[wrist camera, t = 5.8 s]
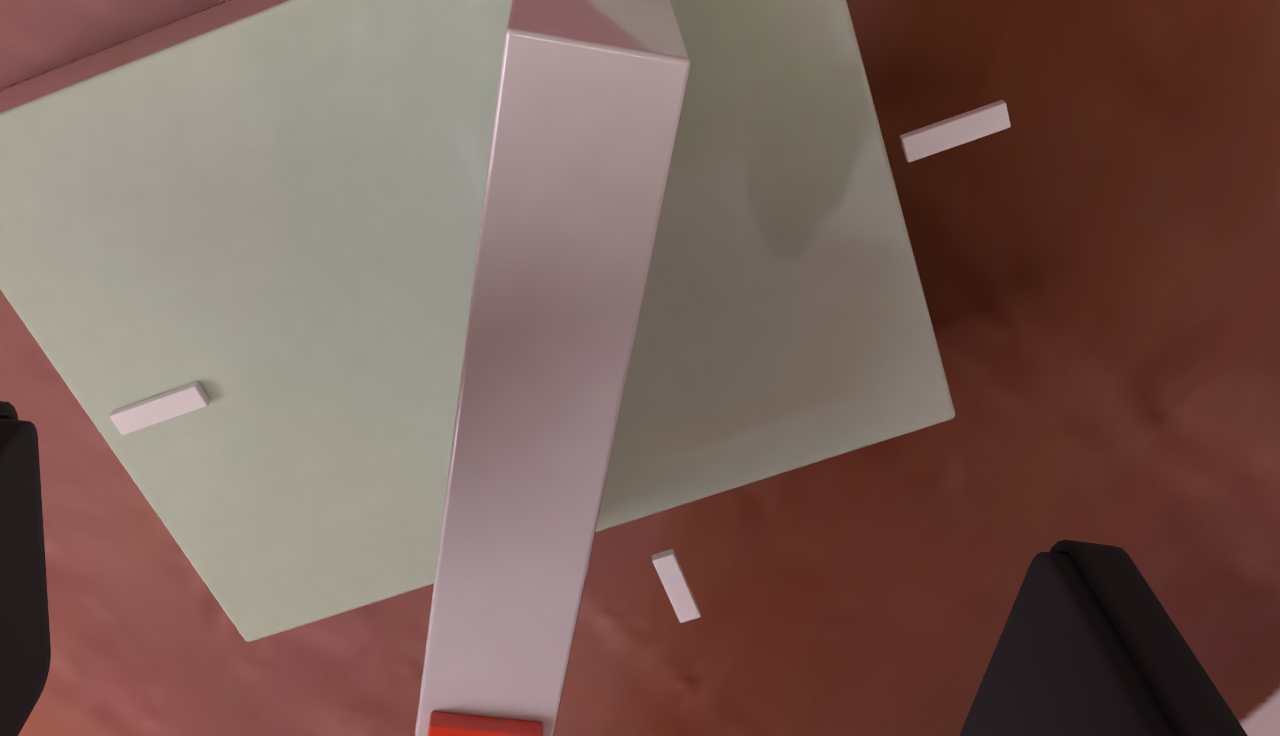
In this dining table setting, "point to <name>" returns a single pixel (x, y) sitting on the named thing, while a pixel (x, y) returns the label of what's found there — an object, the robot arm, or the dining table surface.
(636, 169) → the white rectangular block
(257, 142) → the base
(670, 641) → the dining table surface
